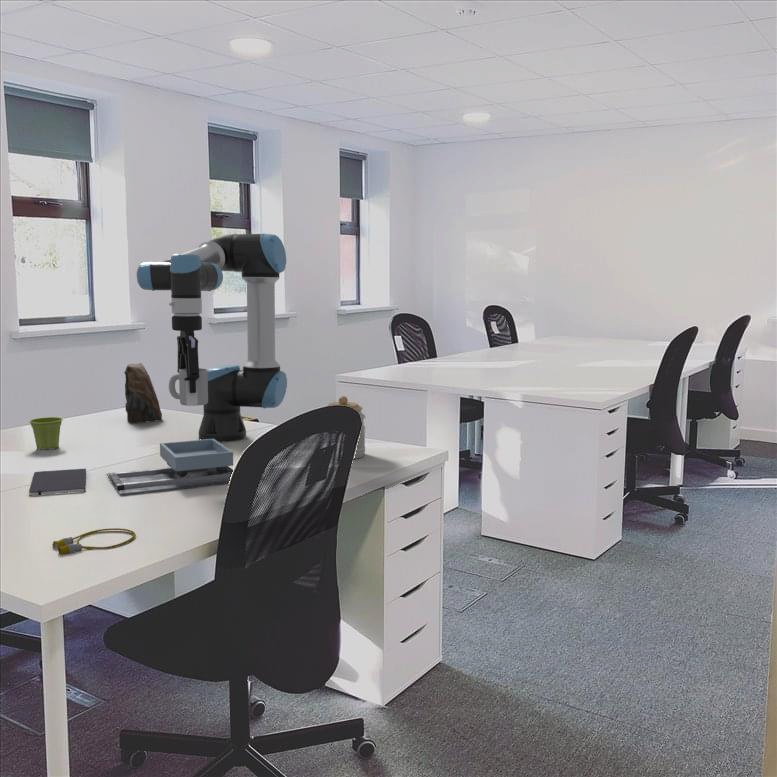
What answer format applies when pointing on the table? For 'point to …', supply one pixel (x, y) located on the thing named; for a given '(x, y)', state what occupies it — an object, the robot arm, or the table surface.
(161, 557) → the table surface
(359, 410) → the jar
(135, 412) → the brown rock
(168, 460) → the cart
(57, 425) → the plant pot
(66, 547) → the extension cord
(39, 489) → the notebook
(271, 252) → the robot arm
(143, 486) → the track
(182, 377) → the cup
